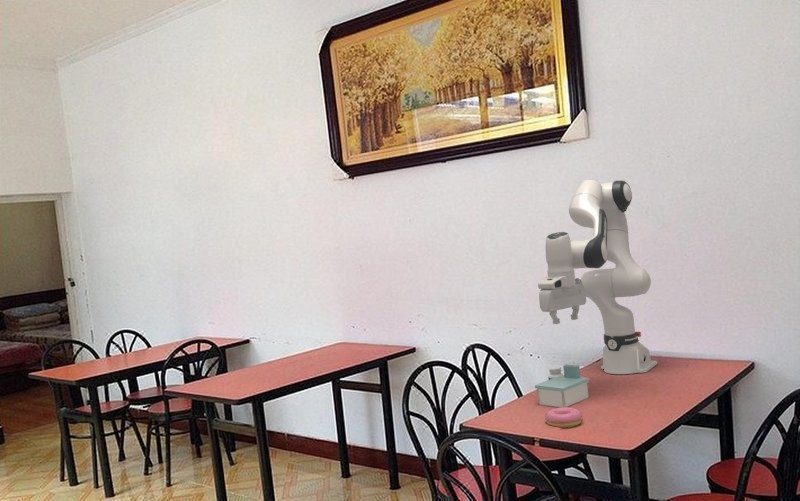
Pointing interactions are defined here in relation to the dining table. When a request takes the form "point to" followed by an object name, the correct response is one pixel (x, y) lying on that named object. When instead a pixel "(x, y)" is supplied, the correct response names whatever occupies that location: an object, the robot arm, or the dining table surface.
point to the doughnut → (563, 417)
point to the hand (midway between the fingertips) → (565, 321)
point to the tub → (563, 396)
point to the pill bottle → (554, 372)
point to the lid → (564, 380)
